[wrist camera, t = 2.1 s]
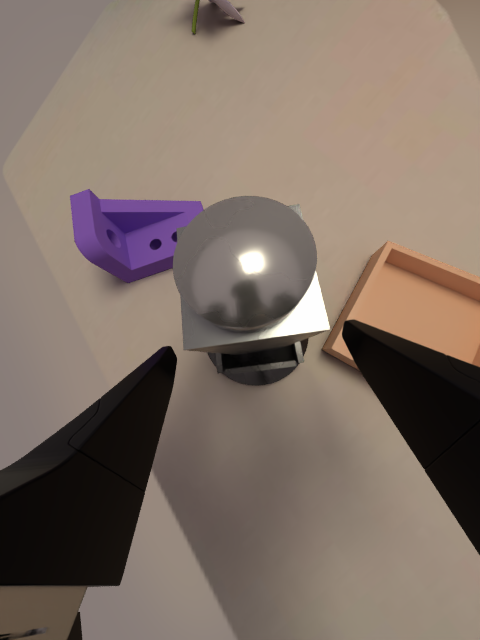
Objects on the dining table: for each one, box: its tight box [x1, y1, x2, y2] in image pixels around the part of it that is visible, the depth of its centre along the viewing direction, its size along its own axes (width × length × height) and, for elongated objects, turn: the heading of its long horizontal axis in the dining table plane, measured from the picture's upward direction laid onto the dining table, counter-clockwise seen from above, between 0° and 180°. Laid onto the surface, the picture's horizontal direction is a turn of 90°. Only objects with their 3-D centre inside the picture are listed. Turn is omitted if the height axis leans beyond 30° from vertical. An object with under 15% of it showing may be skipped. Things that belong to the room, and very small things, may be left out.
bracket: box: [70, 189, 203, 283], centre depth 20 cm, size 12×7×7 cm, turn 107°
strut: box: [173, 196, 330, 355], centre depth 12 cm, size 4×4×14 cm
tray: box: [322, 241, 480, 371], centre depth 16 cm, size 12×12×2 cm
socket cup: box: [208, 338, 308, 385], centre depth 18 cm, size 11×11×2 cm
